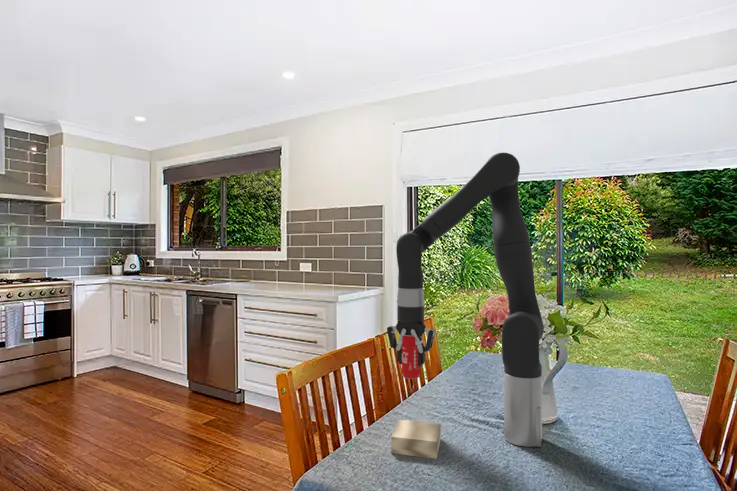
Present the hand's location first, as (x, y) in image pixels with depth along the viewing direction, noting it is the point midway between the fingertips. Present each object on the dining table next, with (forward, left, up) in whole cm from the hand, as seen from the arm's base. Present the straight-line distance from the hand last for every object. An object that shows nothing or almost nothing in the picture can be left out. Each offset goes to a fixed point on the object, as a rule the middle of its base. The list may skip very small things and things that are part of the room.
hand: (410, 364), depth 123 cm
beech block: (-5, +11, -17) cm, 21 cm away
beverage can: (0, 0, -4) cm, 4 cm away
